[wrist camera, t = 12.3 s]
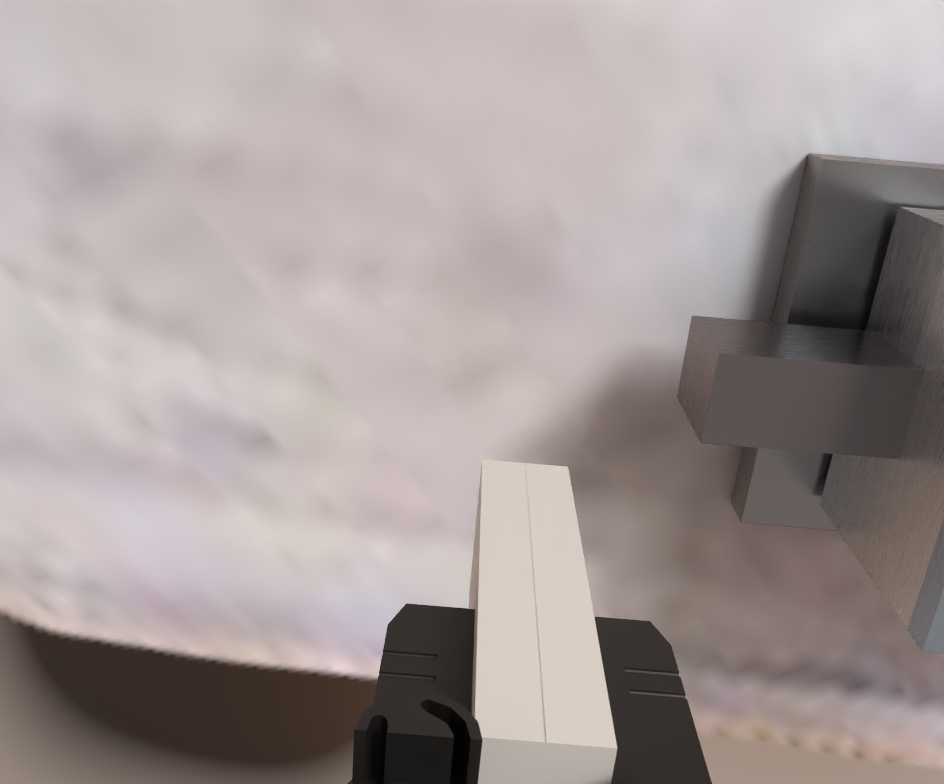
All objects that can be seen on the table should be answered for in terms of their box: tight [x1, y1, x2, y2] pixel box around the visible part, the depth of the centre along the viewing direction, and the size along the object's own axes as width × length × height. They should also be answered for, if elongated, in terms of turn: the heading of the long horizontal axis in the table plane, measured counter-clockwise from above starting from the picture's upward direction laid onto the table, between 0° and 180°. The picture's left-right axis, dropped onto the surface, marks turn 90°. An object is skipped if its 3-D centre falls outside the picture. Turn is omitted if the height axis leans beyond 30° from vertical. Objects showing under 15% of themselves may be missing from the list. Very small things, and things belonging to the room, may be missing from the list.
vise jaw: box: [677, 206, 944, 653], centre depth 22 cm, size 7×9×7 cm
